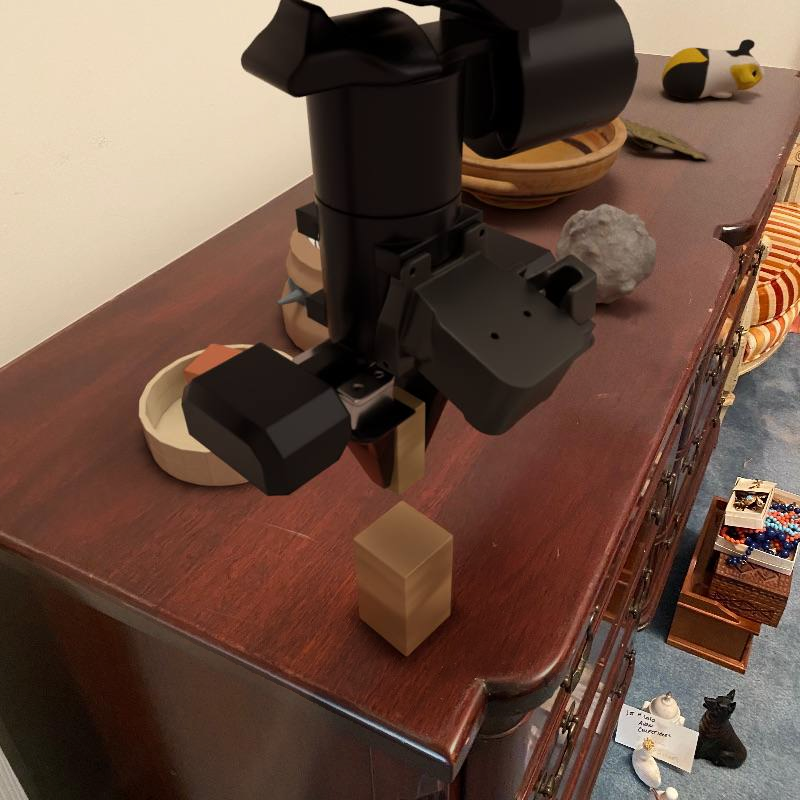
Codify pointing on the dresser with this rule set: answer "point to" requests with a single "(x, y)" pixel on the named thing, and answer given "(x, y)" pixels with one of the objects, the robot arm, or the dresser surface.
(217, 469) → the mixing bowl
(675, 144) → the ornament
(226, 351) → the block
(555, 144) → the ceramic bowl
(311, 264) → the alarm clock
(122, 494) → the dresser surface
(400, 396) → the tall wooden peg
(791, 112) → the dresser surface
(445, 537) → the stand
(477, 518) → the dresser surface
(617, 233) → the stone
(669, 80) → the figurine
